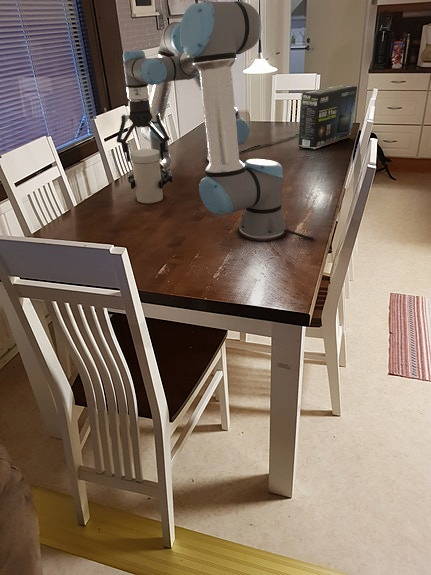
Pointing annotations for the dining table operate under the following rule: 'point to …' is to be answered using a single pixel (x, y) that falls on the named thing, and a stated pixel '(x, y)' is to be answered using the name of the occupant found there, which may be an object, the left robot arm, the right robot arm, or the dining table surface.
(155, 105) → the left robot arm
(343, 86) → the router box
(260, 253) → the dining table surface
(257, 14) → the right robot arm
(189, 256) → the dining table surface
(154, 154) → the lid
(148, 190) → the jar
